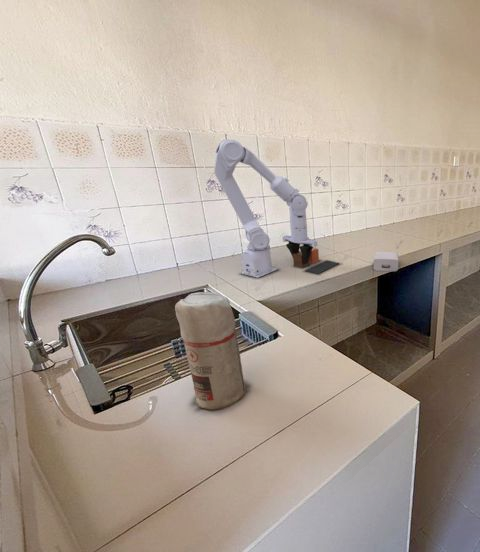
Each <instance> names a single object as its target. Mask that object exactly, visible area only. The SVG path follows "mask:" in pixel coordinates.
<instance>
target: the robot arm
mask: <svg viewBox="0 0 480 552" xmlns="http://www.w3.org/2000/svg"><path fill="white" fill-rule="evenodd" d="M214 158H215V159H214V164H213V165H214V166H213V173H214V176H215V177H216V180H217V181H218V183H219V184H220V186H221V188H222V190H223V192H224V194H225V195H226V197H227V200H228V201H229V203H230V204H231V207H232V208H233V210H234V213H236V215H237V217H238V219H239V221H240V223H241V225H242V227H243V229H244V231H245V238H246V240H247V241H248V245H247V246H246V250H245V251H243V252H242V253H241V254H240V262H241V269H242V271H241V273H240V274H242V275H245V276H249V277H253V278H257V279H258V278H261V277H263V276H266V275H268V274H271V273H273V272H276V271H278V268H277V267H273V266H272V257H271V247H270V241H271V239H270V237H269V235H268V234H267V233H266V232H265V231H264V229H263V228H262V227H261V225H260V224H259V223H258V221H257V219H256V217H255V215H254V213H253V211H252V209H251V208H250V206H249V204H248V202H247V200H246V198H245V196H244V194H243V192H242V190H241V188H240V187H239V185H238V183H237V181H236V179H235V177H234V175H233V174H234V172H235V169H236V167H237V166H238V164H239V163H241V164H243V165H247V166H249V167H251V168H252V169H253V170H254V171H255V172H256V173H258V174H259V175H260V176H261V177H262V178H263V179H265V180H266V181H267V182H268V183H269V188H270V190H271V191H272V192H273V193H275V194H276V195H277V196H278V197H279V198H280V199H281V200H282V201H283V202H285V203H286V205H287V206H288V207H289V208H288V209H289V225H290V235H283V236H282V242H284V243H285V242H288V243H286V244H285V246H286V248H287V249H288V251H289V253H290V255H291V257H292V258H293V253H296V252H299V251H301V253H302V258H303V263H304V264H306V263H308V262H309V257H310V253H311V251H312V249H313V248H314V247H318V240H315V239H312V238H309V236H308V224H307V223H308V222H307V212H306V211H307V208H308V206H309V203H308V201H307V198H306V197H305V196H304V195H302V194H301V193H300V190H299V189H298V188H295V187H294V186H293V185H292V184H291V183H290V181H289V179H288V178H287V177H283V176H281V175H280V176H277V175H276V174H275V173H274V172H273V171H272V170H271V169H270V168H269V167H267V165H266V164H265V163H264V162H262V160H261V159H259V158H258V156H256V154H255V153H253V151H251V150H249V149H248V148H247V147H246V146H244V145H242V144H241V142H239V141H238V140H235V139H223V140H221V141H220V143H219V144H218V146H217V147H216V149H215V157H214Z"/></svg>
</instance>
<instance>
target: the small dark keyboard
mask: <svg viewBox="0 0 480 552" xmlns="http://www.w3.org/2000/svg"><path fill="white" fill-rule="evenodd" d="M338 265H340V262H336V261H332V260H324V261H321V262H320V263H318V264H316V265H313V266H311V267H309V268H307V269H304V272H307V273H310V274H316V275H321V274H322V273H324V272H326V271H328V270H331V269H332V268H334V267H336V266H338Z"/></svg>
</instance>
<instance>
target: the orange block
mask: <svg viewBox="0 0 480 552" xmlns="http://www.w3.org/2000/svg"><path fill="white" fill-rule="evenodd" d="M316 247H317V246H316ZM316 247H313V249H312V251H311V253H310V257H309V264H312V265H313V264H315V263H317V262H319V261H320V256H319V248H316Z"/></svg>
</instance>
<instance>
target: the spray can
mask: <svg viewBox="0 0 480 552" xmlns="http://www.w3.org/2000/svg"><path fill="white" fill-rule="evenodd" d="M174 310H175V317H176V319H177V321H178V324H179V329H180V337H181V339H182V341H183V345H184V349H185V354H186V358H187V362H188V367H189V370H190V375H191V381H192V382H193V389H194V393H195V397H196V398H195V404H196V405H197V406H198V407H199V408H200V409H201V408H202V409H206V410H219V409H222V408H226V407H229V406H231V405H233V404H234V403H236V402H237V401H238V400H240V399H241V398H243V397H244V396H245V394H246V391H247V386H246V384H245V379H244V372H243V366H242V362H241V361H242V359H241V353H240V348H239V342H238V335H237V329H236V319H235V316H234V312H233V309H232V305H231V301H230V300H229V297H227V296H225V295H221V294H220V293H218V292H214V291H213V292H211V291H208V292H207V291H206V292H205V291H203V292H202V291H198V292H193V293H190V294H188V295H187V296H186V297H185V298H181V299H180V300H179V301H177V303H175V305H174Z"/></svg>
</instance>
